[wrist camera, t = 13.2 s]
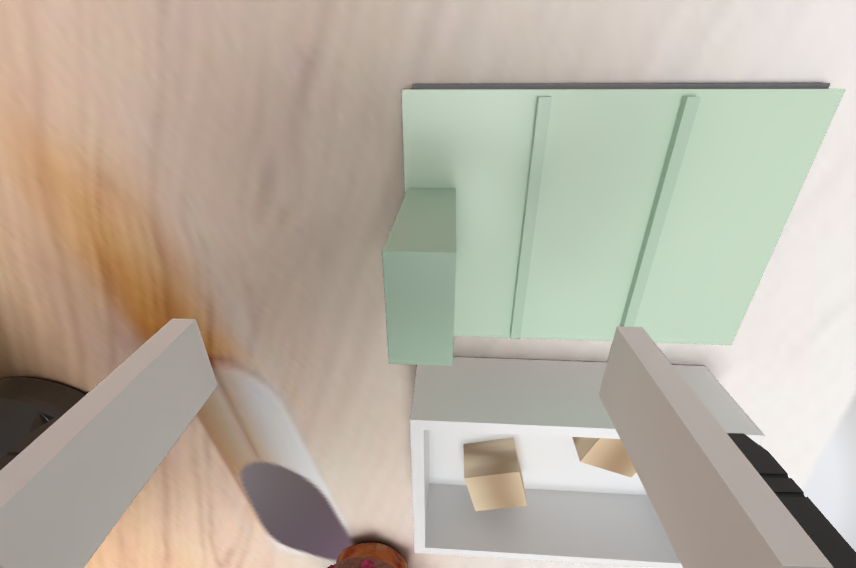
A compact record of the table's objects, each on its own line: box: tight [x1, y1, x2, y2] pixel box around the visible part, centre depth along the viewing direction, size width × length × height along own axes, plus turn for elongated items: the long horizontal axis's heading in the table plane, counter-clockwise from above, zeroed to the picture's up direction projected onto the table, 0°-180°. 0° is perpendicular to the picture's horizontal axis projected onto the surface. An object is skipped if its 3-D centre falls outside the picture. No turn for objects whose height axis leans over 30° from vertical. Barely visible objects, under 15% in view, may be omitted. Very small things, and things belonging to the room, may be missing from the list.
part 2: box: [572, 437, 636, 477], centre depth 28 cm, size 4×4×3 cm
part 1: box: [463, 437, 527, 511], centre depth 30 cm, size 4×4×3 cm
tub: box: [410, 357, 765, 568], centre depth 28 cm, size 20×14×6 cm
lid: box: [382, 89, 845, 366], centre depth 19 cm, size 21×15×10 cm
